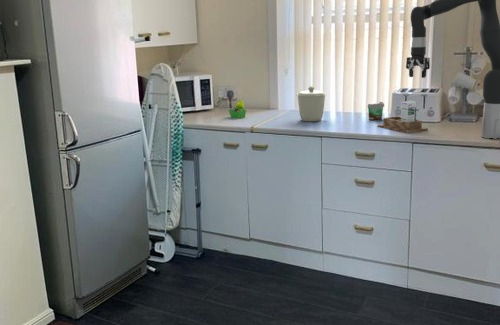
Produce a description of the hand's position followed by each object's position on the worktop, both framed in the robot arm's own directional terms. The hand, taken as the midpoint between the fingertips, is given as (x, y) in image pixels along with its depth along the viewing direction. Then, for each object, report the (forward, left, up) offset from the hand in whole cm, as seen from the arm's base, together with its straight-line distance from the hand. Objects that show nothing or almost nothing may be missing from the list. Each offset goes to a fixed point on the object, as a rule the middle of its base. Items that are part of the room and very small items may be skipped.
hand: (417, 77), depth 271 cm
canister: (+58, +29, -28) cm, 71 cm away
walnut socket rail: (+6, +4, -28) cm, 29 cm away
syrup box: (+1, +4, -27) cm, 28 cm away
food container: (+35, -4, -28) cm, 45 cm away
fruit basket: (+98, +60, -29) cm, 118 cm away
